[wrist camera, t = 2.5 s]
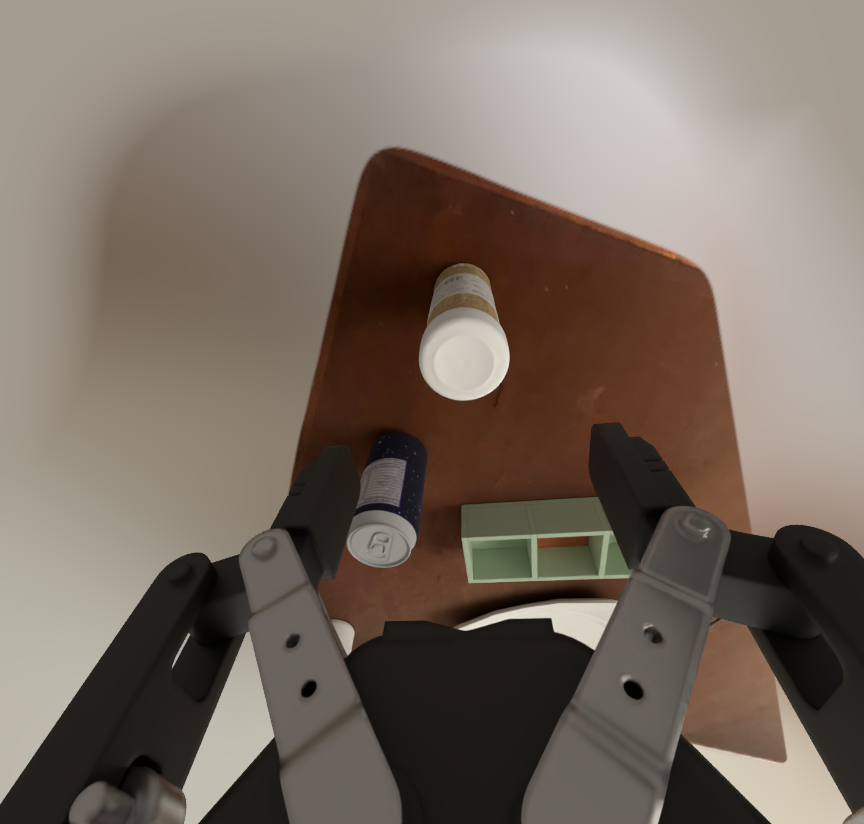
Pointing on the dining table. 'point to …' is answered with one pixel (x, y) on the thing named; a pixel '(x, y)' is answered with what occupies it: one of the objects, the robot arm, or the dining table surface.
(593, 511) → the tray
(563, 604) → the plate
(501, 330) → the spice jar
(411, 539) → the beverage can
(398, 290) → the dining table surface
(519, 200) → the dining table surface
